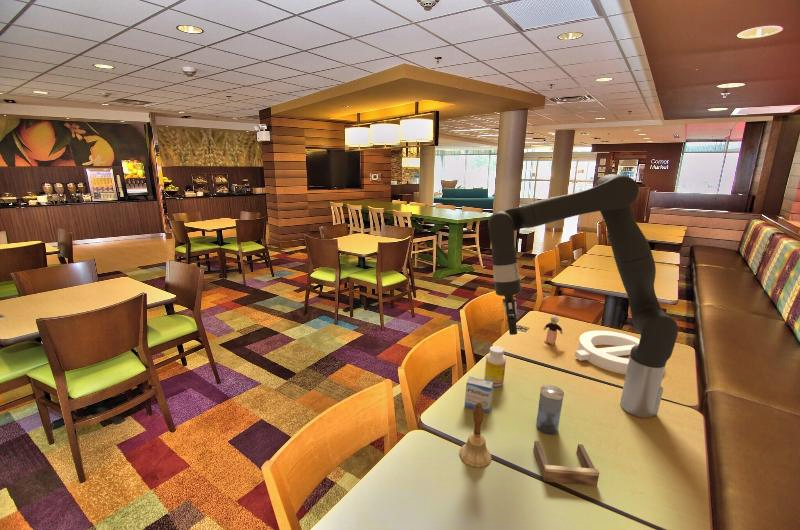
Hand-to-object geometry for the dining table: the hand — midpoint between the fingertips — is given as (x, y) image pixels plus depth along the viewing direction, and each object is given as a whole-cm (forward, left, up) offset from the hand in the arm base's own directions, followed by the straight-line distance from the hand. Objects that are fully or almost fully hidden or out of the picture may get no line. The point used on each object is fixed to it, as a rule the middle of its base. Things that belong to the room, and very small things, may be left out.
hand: (512, 329), depth 115 cm
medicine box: (+9, +4, -25) cm, 27 cm away
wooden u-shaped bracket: (-10, +26, -25) cm, 37 cm away
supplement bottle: (+2, -10, -25) cm, 27 cm away
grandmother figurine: (-27, -42, -25) cm, 56 cm away
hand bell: (+12, +25, -25) cm, 38 cm away
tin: (-10, +12, -25) cm, 29 cm away
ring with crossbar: (-50, -34, -26) cm, 65 cm away
